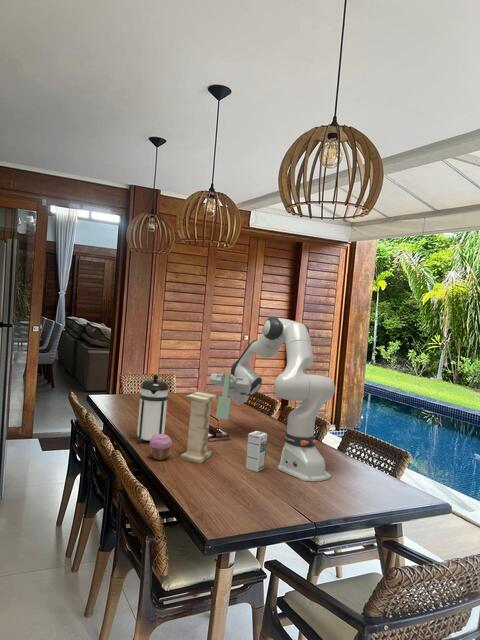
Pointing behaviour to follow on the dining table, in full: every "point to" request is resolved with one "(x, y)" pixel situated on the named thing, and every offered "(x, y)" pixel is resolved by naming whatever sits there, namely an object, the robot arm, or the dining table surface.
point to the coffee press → (152, 408)
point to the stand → (198, 427)
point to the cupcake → (160, 446)
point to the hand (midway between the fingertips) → (226, 375)
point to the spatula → (224, 401)
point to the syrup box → (256, 451)
